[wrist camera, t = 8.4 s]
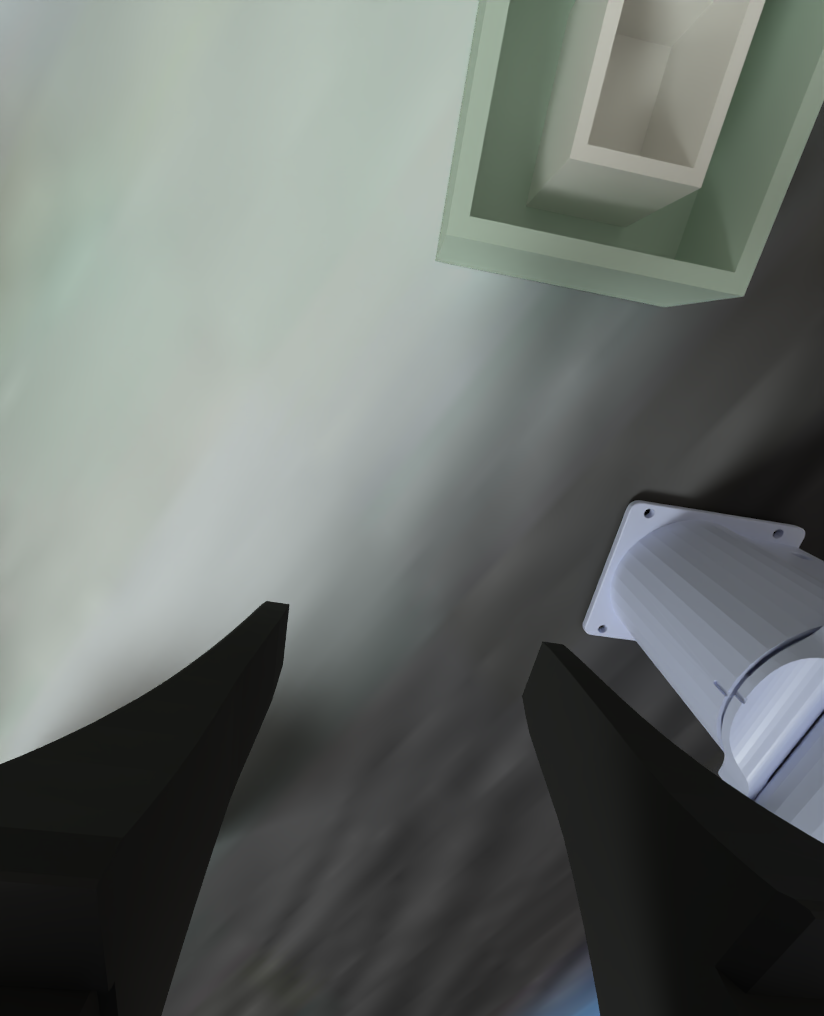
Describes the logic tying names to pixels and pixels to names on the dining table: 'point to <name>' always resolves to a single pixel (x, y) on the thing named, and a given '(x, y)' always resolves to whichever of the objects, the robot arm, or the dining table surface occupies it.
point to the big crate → (666, 232)
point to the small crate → (638, 104)
